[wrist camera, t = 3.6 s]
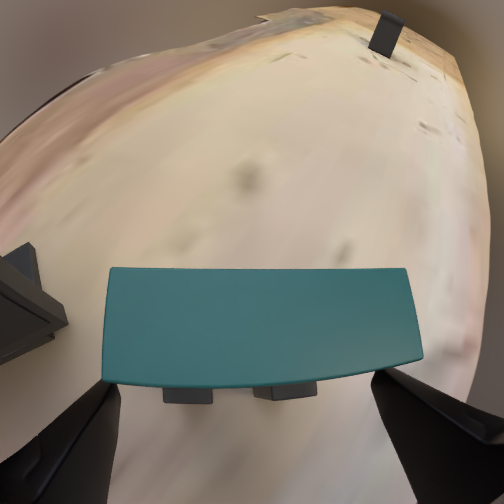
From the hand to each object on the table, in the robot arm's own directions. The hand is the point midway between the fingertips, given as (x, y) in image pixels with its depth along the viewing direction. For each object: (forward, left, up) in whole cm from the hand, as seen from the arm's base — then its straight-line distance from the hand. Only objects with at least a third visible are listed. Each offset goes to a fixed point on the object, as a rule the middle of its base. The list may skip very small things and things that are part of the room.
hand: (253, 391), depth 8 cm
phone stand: (+35, -71, -9) cm, 79 cm away
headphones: (+1, -1, -9) cm, 9 cm away
